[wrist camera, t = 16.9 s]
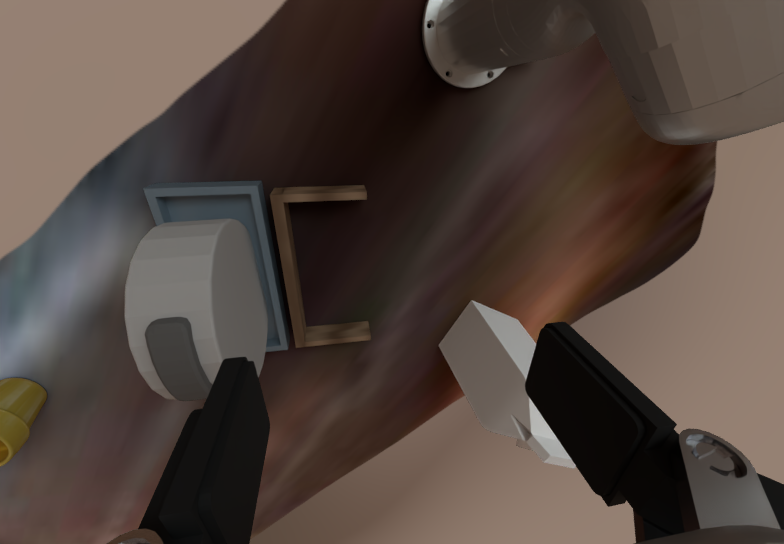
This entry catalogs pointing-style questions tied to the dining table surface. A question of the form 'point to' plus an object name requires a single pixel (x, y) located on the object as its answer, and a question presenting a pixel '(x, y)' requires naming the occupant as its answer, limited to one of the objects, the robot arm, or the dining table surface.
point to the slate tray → (232, 203)
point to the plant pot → (17, 413)
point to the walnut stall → (290, 270)
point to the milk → (500, 378)
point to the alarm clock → (194, 305)
